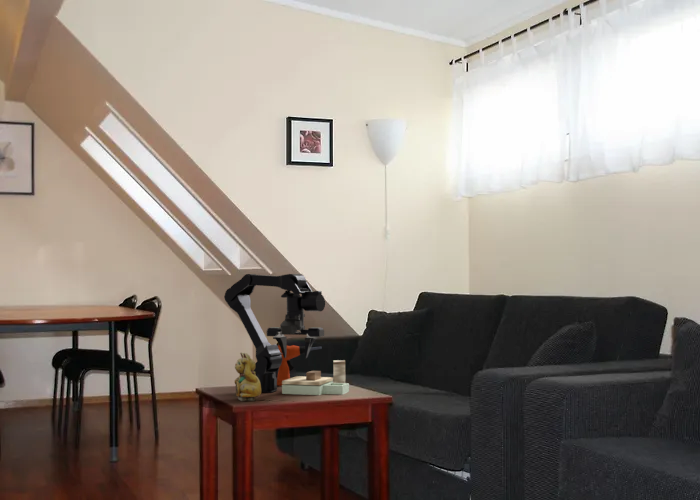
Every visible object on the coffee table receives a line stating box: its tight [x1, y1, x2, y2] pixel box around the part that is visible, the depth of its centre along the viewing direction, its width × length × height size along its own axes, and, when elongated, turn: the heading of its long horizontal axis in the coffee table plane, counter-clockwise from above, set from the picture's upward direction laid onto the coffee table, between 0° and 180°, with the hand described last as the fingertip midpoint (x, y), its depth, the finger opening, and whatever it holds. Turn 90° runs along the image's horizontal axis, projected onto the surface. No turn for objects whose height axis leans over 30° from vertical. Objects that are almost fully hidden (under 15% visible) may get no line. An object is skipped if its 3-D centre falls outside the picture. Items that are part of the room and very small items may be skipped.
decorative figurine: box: [234, 352, 262, 402], centre depth 273 cm, size 10×8×15 cm
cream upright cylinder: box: [332, 359, 346, 383], centre depth 296 cm, size 4×4×10 cm
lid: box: [282, 370, 334, 385], centre depth 284 cm, size 13×14×4 cm
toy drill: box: [276, 344, 322, 387], centre depth 310 cm, size 5×19×15 cm, turn 92°
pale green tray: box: [281, 380, 350, 396], centre depth 283 cm, size 20×14×4 cm
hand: (295, 357), depth 286 cm, fingers open, 7 cm apart
